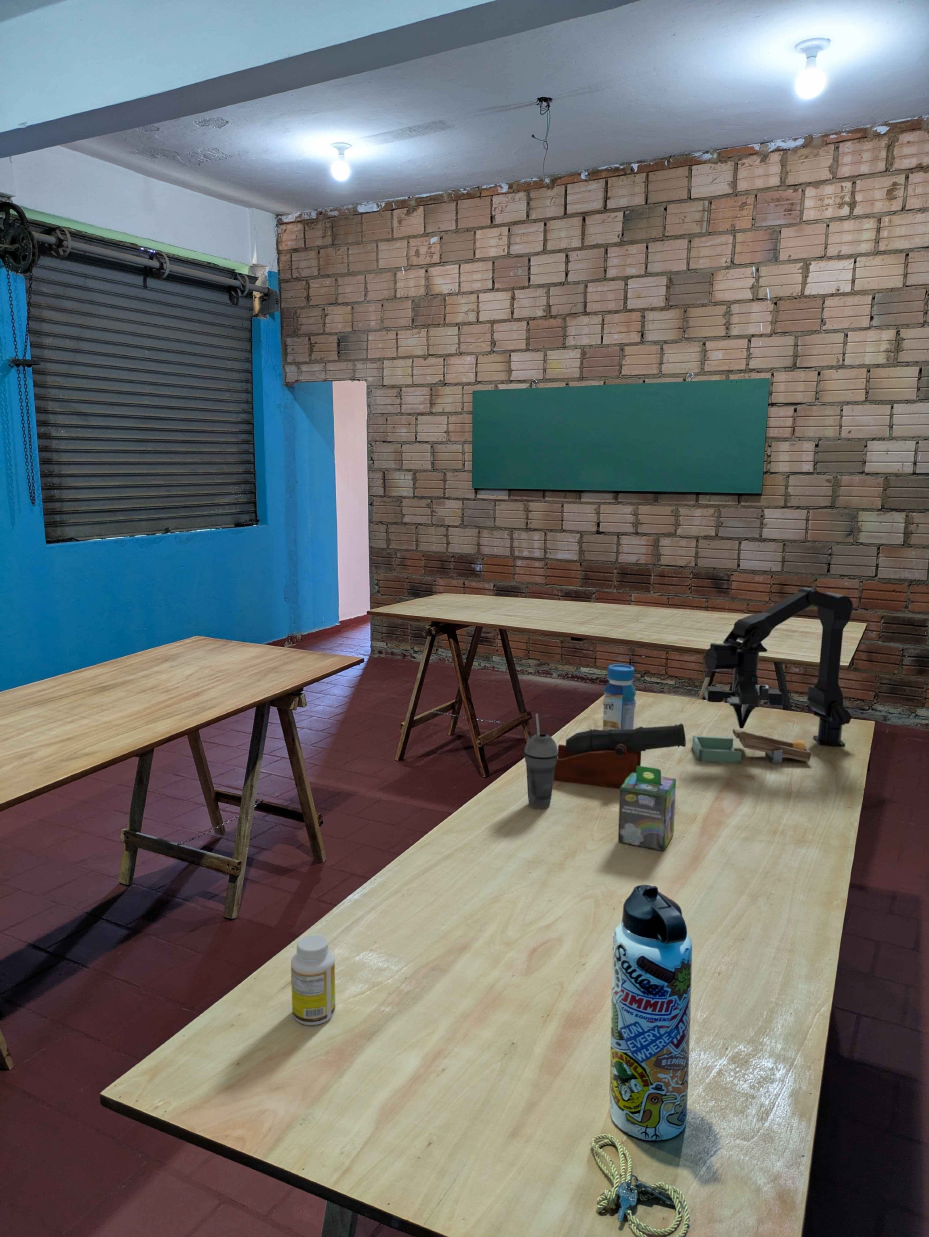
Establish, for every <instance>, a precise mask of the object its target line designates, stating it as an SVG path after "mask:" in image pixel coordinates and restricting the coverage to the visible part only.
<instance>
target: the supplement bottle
mask: <svg viewBox="0 0 929 1237" xmlns="http://www.w3.org/2000/svg"><path fill="white" fill-rule="evenodd" d="M328 940H329V939H328V938H327V937H326V936H324V935H322V934H318V933H317V934H315V933H313V934H306V935H304V936H302V937H301V938H299V939H298V940H297V943H296V951H295V953H293V955H292V957H291V960H290V974H291V976H290V978H291V1006H292V1009H291V1010H292V1012H291V1013H292V1016H293V1018H294V1020H295V1021H297V1022H298V1023H300V1024H302V1025H305V1026H316V1025H320V1024H323V1023H326V1022H327V1021H329V1020H330V1019H331V1018H332V1017H333V1016H334V1013H335V1011H336V970H335V969H336V968H335V967H336V964H335V962H336V961H335V954H334V953H333V951H332V950H331V949H330V947H329V942H328Z"/></svg>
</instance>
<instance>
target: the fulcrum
mask: <svg viewBox="0 0 929 1237" xmlns="http://www.w3.org/2000/svg"><path fill="white" fill-rule="evenodd" d="M782 752H783V750H780V749H773V754H771V753H766V752H764V753H765V754H766V755H767V756H768V758H769V759H770V761H771V763H772V764H773V765H782V762H783V760H782V759H783V756H782Z"/></svg>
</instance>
